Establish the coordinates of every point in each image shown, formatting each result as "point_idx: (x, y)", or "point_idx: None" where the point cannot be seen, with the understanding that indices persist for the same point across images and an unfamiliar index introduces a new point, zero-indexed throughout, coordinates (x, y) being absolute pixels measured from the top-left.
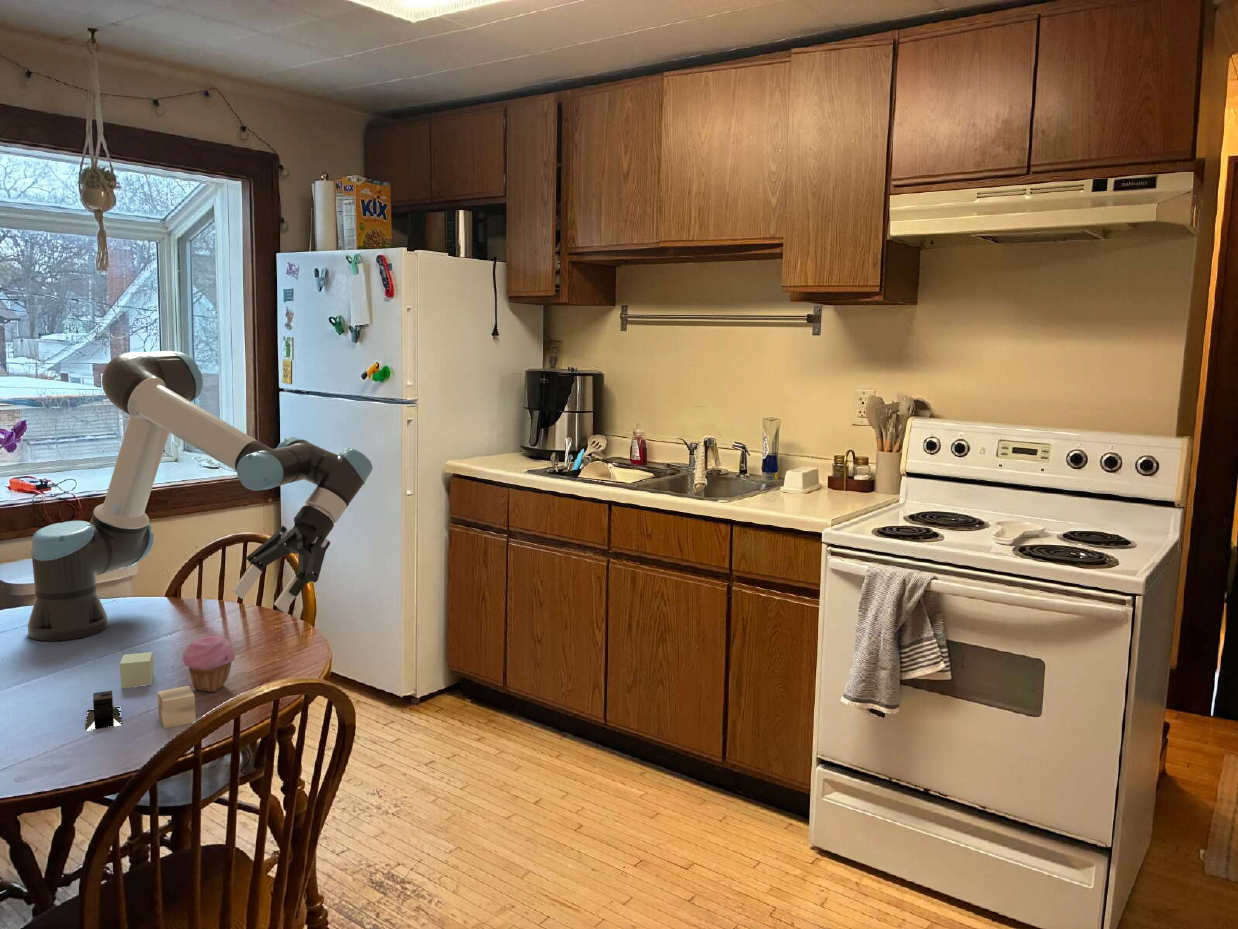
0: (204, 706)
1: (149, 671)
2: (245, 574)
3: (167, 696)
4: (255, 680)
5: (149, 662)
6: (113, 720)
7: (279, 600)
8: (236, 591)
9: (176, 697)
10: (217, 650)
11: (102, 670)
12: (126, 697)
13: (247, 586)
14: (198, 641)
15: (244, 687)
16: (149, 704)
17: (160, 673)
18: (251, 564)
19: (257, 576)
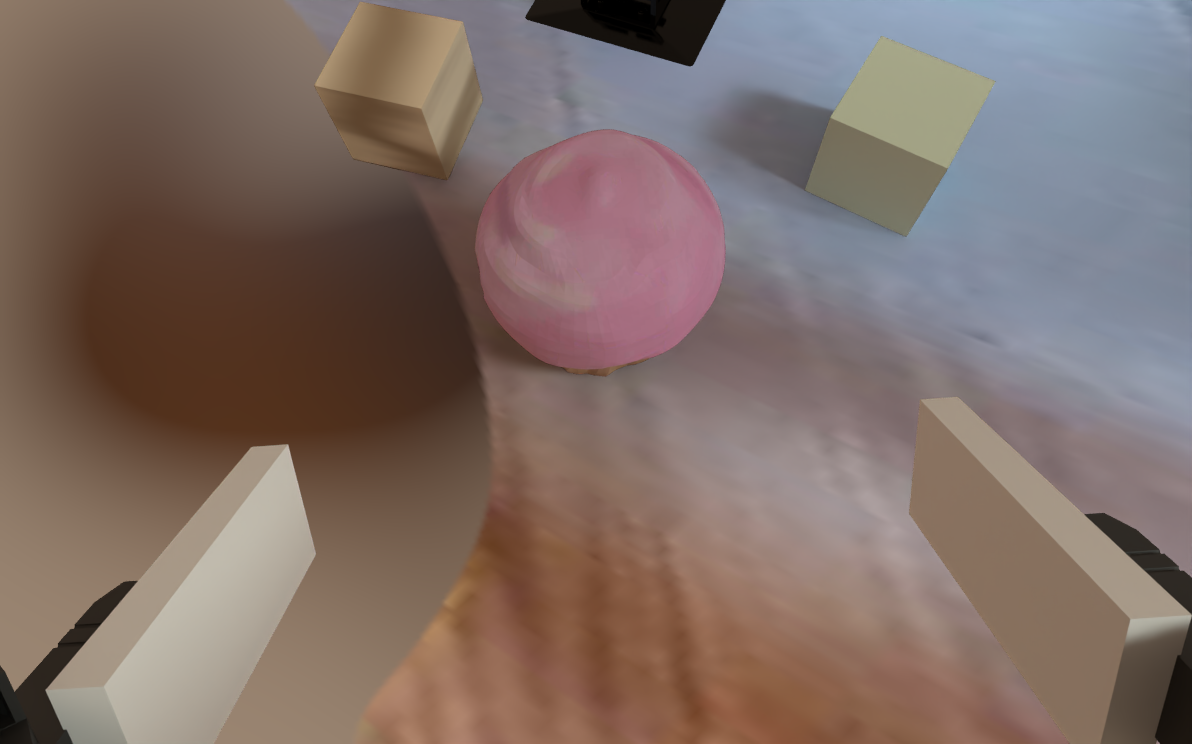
0: (452, 232)
1: (819, 148)
2: (1048, 509)
3: (387, 25)
4: (538, 499)
5: (829, 122)
6: (567, 5)
7: (229, 474)
8: (927, 427)
9: (351, 40)
10: (494, 216)
11: (1113, 137)
12: (749, 98)
13: (964, 547)
14: (611, 154)
15: (501, 423)
16: (624, 123)
17: (923, 266)
18: (1183, 612)
19: (1046, 687)
